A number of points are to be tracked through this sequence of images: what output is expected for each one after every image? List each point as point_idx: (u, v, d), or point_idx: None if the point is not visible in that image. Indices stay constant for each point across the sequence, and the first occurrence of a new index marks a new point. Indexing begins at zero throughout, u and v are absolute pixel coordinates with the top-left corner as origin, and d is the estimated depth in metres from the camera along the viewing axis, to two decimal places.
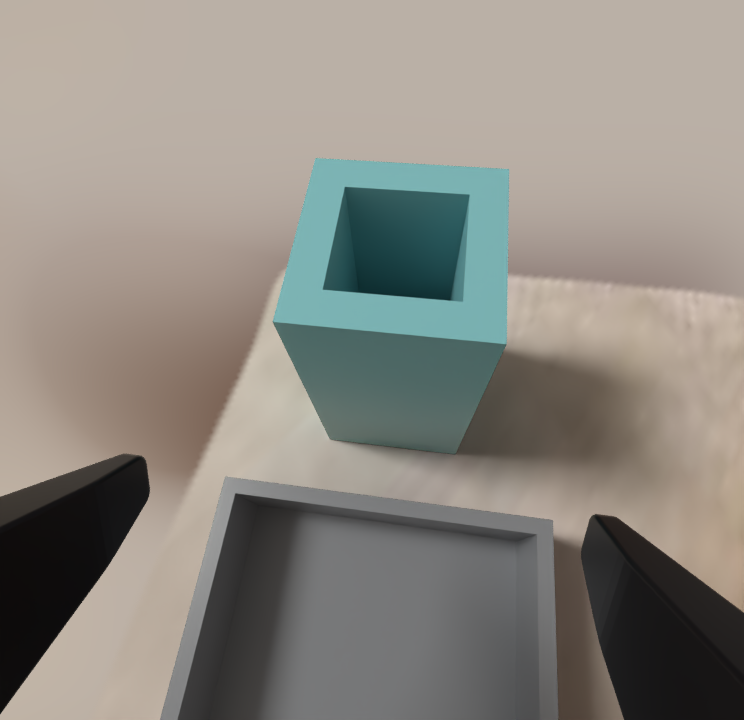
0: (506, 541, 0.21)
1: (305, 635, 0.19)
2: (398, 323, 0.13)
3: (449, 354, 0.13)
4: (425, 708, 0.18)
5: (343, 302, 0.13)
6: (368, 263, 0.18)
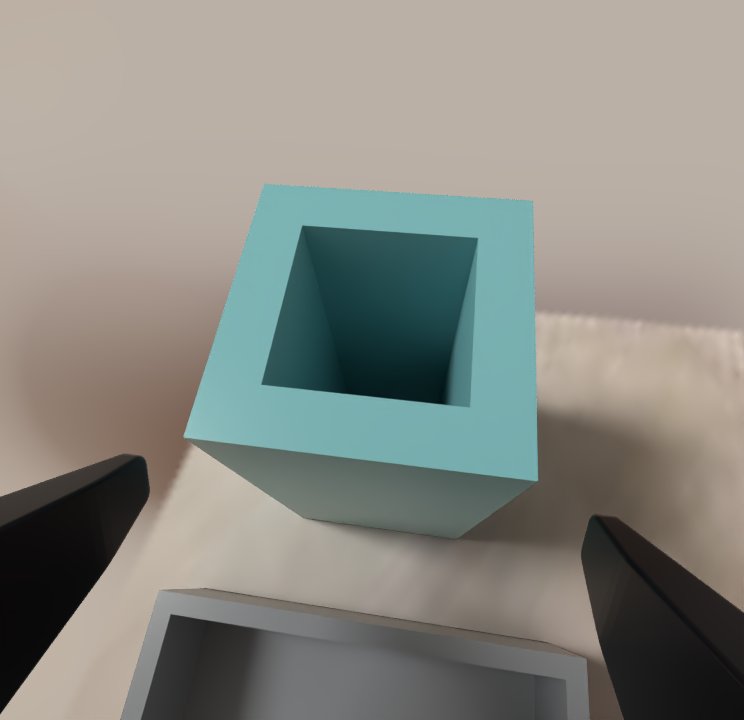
0: None
1: None
2: (372, 442, 0.08)
3: (449, 481, 0.09)
4: None
5: (290, 406, 0.09)
6: (343, 316, 0.14)
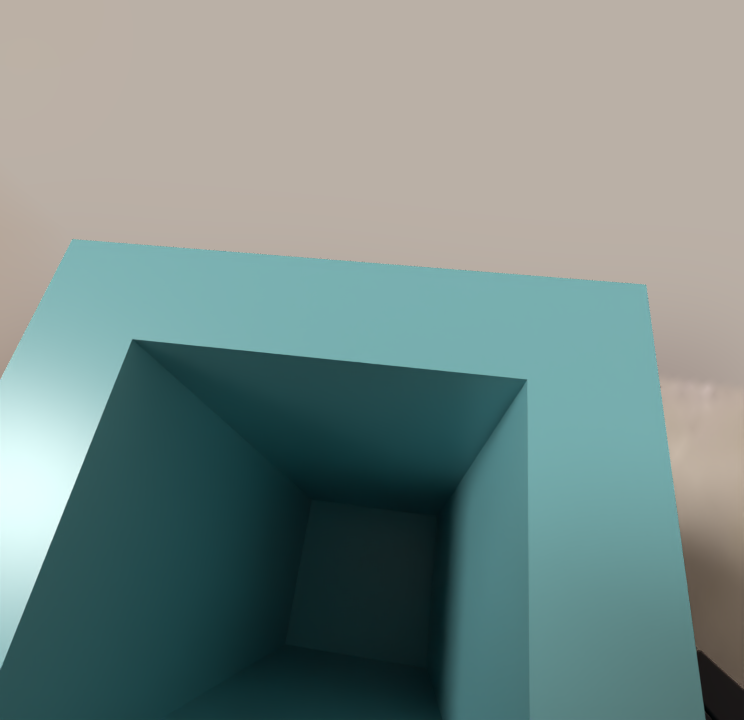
0: None
1: None
2: None
3: None
4: None
5: None
6: (275, 444, 0.08)
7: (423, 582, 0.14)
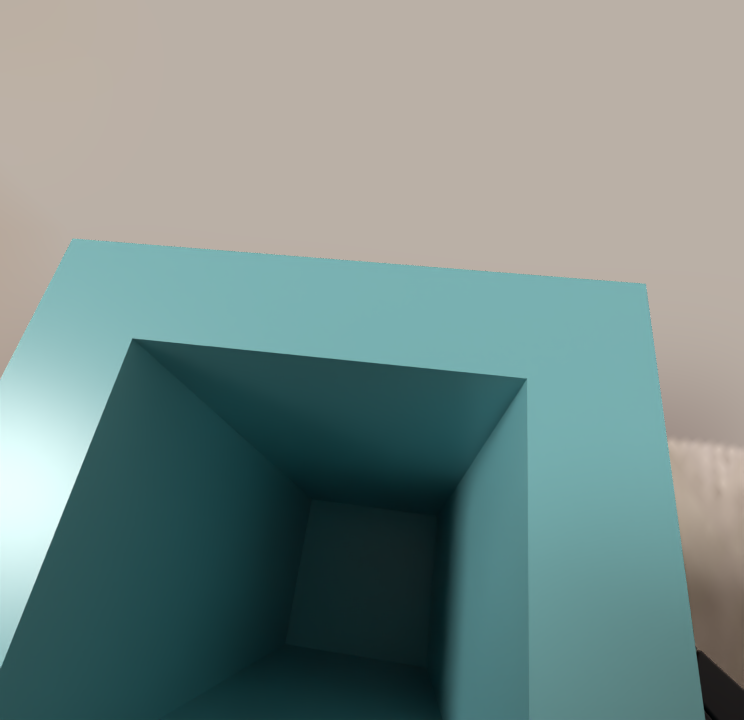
0: None
1: None
2: None
3: None
4: None
5: None
6: (275, 443, 0.08)
7: (423, 582, 0.14)
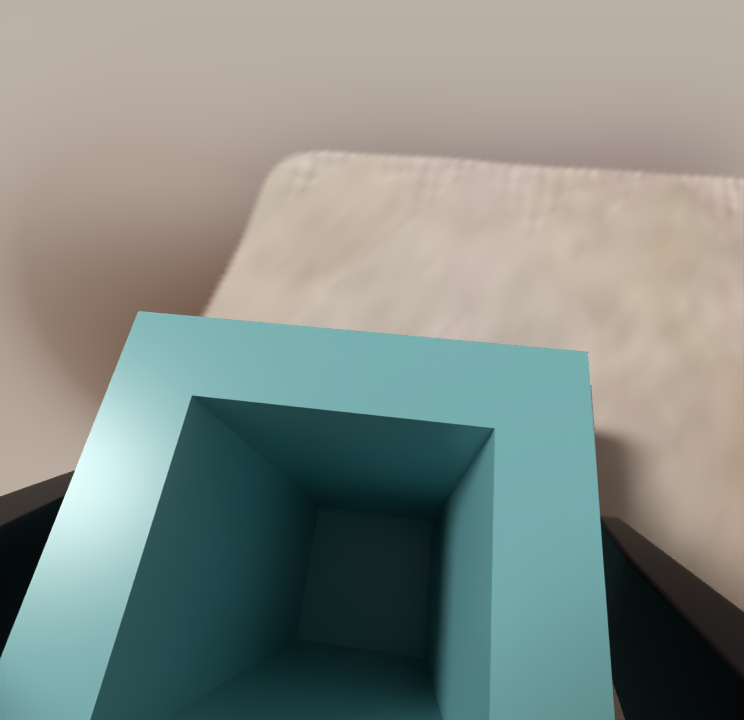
0: None
1: None
2: None
3: None
4: None
5: None
6: (292, 464, 0.10)
7: (421, 581, 0.15)
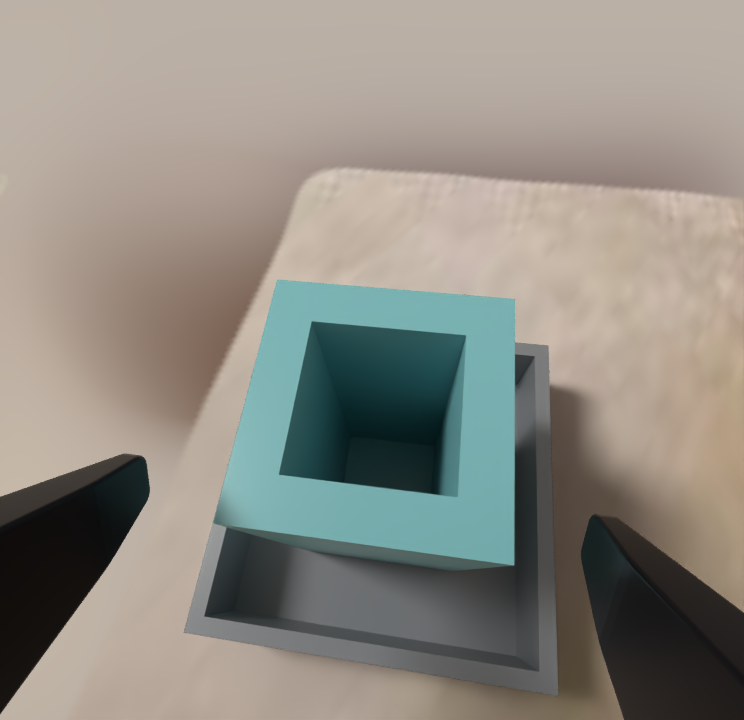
0: None
1: None
2: (374, 528, 0.10)
3: (440, 557, 0.10)
4: None
5: (304, 494, 0.10)
6: (347, 381, 0.16)
7: (425, 486, 0.21)
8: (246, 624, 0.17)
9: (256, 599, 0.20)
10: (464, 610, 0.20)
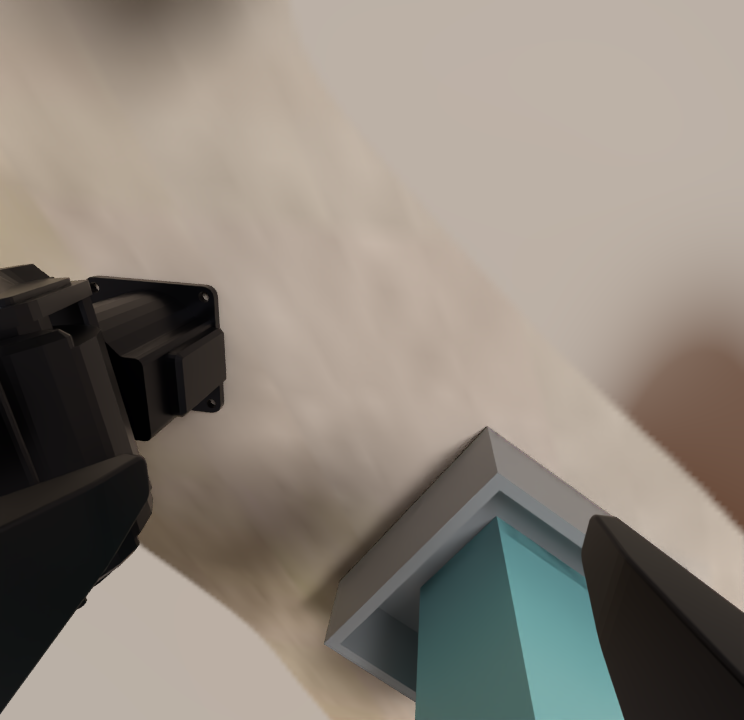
0: None
1: None
2: None
3: None
4: None
5: None
6: None
7: None
8: (473, 514, 0.20)
9: None
10: None
